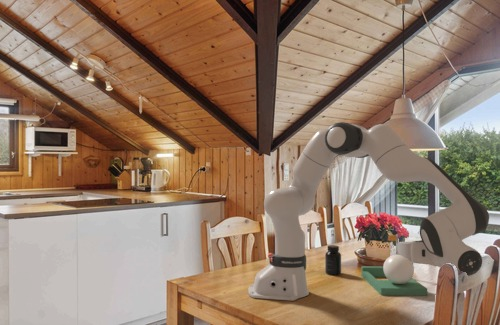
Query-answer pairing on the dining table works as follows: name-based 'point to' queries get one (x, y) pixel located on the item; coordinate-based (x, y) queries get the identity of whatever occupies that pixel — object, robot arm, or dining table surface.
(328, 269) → the supplement bottle
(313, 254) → the dining table surface
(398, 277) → the ball
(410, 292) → the putting mat
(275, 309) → the dining table surface
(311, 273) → the dining table surface
